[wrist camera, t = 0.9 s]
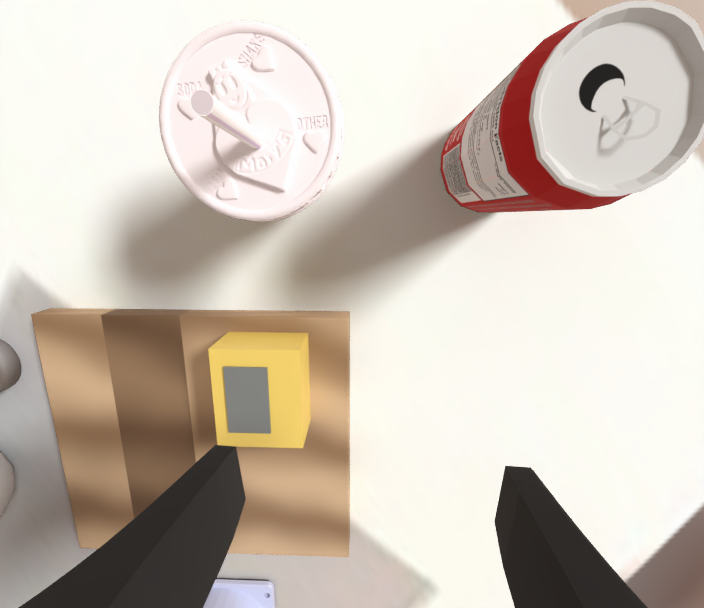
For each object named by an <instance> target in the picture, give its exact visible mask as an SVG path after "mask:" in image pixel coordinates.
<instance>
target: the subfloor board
mask: <svg viewBox="0 0 704 608" xmlns="http://www.w3.org/2000/svg"><path fill="white" fill-rule="evenodd" d="M31 316H32V321H33V325H34V330H35V335H36V340H37V345H38V349H39V354H40V359H41V364H42V368H43V373H44V378H45V383H46V387H47V392H48V397H49V402H50V407H51V411H52V416H53V421H54V426H55V430H56V435H57V440H58V445H59V449H60V454H61V459H62V464H63V468H64V473H65V478H66V483H67V488H68V492H69V497H70V502H71V507H72V511H73V516H74V521H75V526H76V530H77V535H78V540H79V545H80V548H97V549H99V548H100V547H101V546H102V545H104V544H105V543H106V542H107V541H108V540H110V539H111V538H112V537H113V536H114V535H115V534H117V533H118V532H119V531H120V530H121V529H123V528H124V527H125V526H126V525H127V524H129V523H130V522H131V521H132V520H133V519H134V518H136V517H137V516H138V515H139V514H140V513H141V512H143V511H144V510H145V509H146V508H147V507H148V506H149V505H150V504H151V503H153V502H154V501H155V500H156V499H157V498H158V497H159V496H160V495H161V494H163V493H164V492H165V491H166V490H167V489H168V488H169V487H170V486H171V485H172V484H174V483H175V482H176V481H177V480H178V479H179V478H180V477H181V476H182V475H183V474H184V473H185V472H186V471H187V470H189V469H190V468H191V467H192V466H193V465H194V464H195V463H196V462H197V461H198V460H199V459H200V458H201V457H203V456H204V455H205V454H206V453H207V452H208V451H209V450H210V449H211V448H212V447H214V446H215V445H217V435H216V425H215V414H214V404H213V393H212V383H211V372H210V362H209V351H208V349H209V348H210V347H211V346H212V345H213V344H215V343H216V342H217V341H218V340H219V339H221V338H222V337H223V336H224V335H225V334H227V333H228V332H273V333H308V344H309V380H310V416H311V420H310V424H309V428H308V431H307V435H306V439H305V443H304V446H303V448H273V447H236V449H237V454H238V460H239V465H240V470H241V476H242V481H243V487H244V492H245V497H246V500H245V503H244V507H243V510H242V513H241V516H240V520H239V523H238V526H237V529H236V532H235V535H234V538H233V540H232V543H231V545H230V548H229V550H228V552H227V553H241V554H270V555H299V556H328V557H349V541H350V312H337V311H246V310H154V309H62V308H51V309H47V310H44V311H40V312H37V313H34V314H31Z"/></svg>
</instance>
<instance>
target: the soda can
mask: <svg viewBox="0 0 704 608" xmlns="http://www.w3.org/2000/svg"><path fill="white" fill-rule="evenodd" d="M703 137H704V36H703V34H702V32H701V30H700V28H699V26H698V24H697V22H696V21H695V20H693V19H692V18H691V17H689V16H688V15H687V14H685V13H684V12H682V11H681V10H680V9H678V8H676V7H673V6H670V5H667V4H663V3H660V2H657V1H627V2H624V3H620V4H617V5H614V6H610V7H607V8H604V9H602V10H600V11H599V12H597V13H595V14H594V15H592V16H590V17H588V18H585V19H583V20H580V21H577V22H574V23H572V24H569V25H567V26H566V27H564V28H562V29H561V30H559V31H558V32H556V33H554V34H553V35H551V36H549V37H548V38H546V39H544V40H543V41H542V42H541V43H540V44H539V45H538V46H537V47H536V48H535V49H534V50H533V51H532V52H531V53H530V54H529V55H528V56H527V57H526V58H525V59H524V60H523V61H522V62H521V63H520V64H519V65H518V66H517V67H516V68H515V69H514V70H513V71H512V72H511V73H510V74H509V75H508V76H507V77H506V78H505V79H504V80H503V81H502V82H501V83H500V84H499V85H498V86H497V87H496V88H495V89H494V90H493V91H492V92H491V93H490V94H489V95H488V96H487V97H486V98H485V99H484V100H483V101H482V102H481V103H480V104H479V105H478V106H477V107H476V108H475V109H474V110H473V111H472V112H471V113H470V114H469V115H468V116H466V117H465V118H464V119H463V120H462V121H461V122H460V123H459V124H458V125H457V126H456V127H455V128H454V129H453V131H452V132H451V134H450V136H449V137H448V139H447V141H446V142H445V145H444V148H443V151H442V154H441V173H442V177H443V180H444V184H445V187H446V191H447V192H448V193H449V194H450V195H451V196H452V197H453V198H454V200H455V201H456V202H457V203H458V204H459V205H460V206H462V207H465V208H468V209H470V210H473V211H476V212H518V211H546V210H574V209H592V208H596V207H600V206H604V205H608V204H611V203H614V202H616V201H618V200H620V199H622V198H624V197H626V196H628V195H630V194H632V193H635V192H639V191H643V190H645V189H647V188H649V187H651V186H653V185H655V184H657V183H659V182H661V181H663V180H664V179H666V178H667V177H668V176H669V175H671V174H672V173H673V172H674V171H675V170H677V169H678V168H679V167H680V166H681V165H682V164H684V163H685V162H686V160H687V159H688V158H689V156H690V155H691V154H692V152H693V151H694V150H695V149H696V147H697V146H698V145H699V143H700V142H701V141H702V139H703Z"/></svg>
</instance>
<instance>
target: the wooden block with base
mask: <svg viewBox="0 0 704 608" xmlns="http://www.w3.org/2000/svg"><path fill="white" fill-rule="evenodd" d="M20 375H21V363H20V359H19V357H18V355H17V353H16V352H15V351H14V349H13V348H12V347H11V346H10V345H9V344H7V343H6V342H5V341H3V340H1V339H0V392H1V391H3V390H5V389H7V388H9V387H11V386H13V385H14V384H15V383H16V382H17V381H18V380H19V378H20Z"/></svg>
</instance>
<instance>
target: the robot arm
mask: <svg viewBox="0 0 704 608" xmlns="http://www.w3.org/2000/svg"><path fill="white" fill-rule="evenodd" d="M245 500H246V497H245V492H244V487H243V481H242V476H241V470H240V465H239V460H238V454H237V449H236V446H223V445H215V446H214V447H212V448H211V449H210V450H209V451H208V452H207V453H206V454H205V455H204V456H203V457H201V458H200V459H199V460H198V461H197V462H196V463H195V464H194V465H193V466H192V467H191V468H190V469H189V470H187V471H186V472H185V473H184V474H183V475H182V476H181V477H180V478H179V479H178V480H177V481H176V482H175V483H174V484H172V485H171V486H170V487H169V488H168V489H167V490H166V491H165V492H164V493H163V494H161V495H160V496H159V497H158V498H157V499H156V500H155V501H154V502H153V503H151V504H150V505H149V506H148V507H147V508H146V509H145V510H144V511H143V512H141V513H140V514H139V515H138V516H137V517H136V518H134V519H133V520H132V521H131V522H130V523H129V524H127V525H126V526H125V527H124V528H123V529H121V530H120V531H119V532H118V533H117V534H115V535H114V536H113V537H112V538H111V539H110V540H108V541H107V542H106V543H105V544H104V545H102V546H101V547H100V548H99V549H97V550H96V551H95V552H94V553H92V554H91V555H90V556H89V557H87V558H86V559H85V560H84V561H82V562H81V563H80V564H78V565H77V566H76V567H74V568H73V569H72V570H70V571H69V572H68V573H66V574H65V575H64V576H62V577H61V578H60V579H58V580H57V581H56V582H54V583H53V584H52V585H50V586H49V587H48V588H46V589H45V590H43V591H42V592H41V593H39V594H38V595H36V596H35V597H33V598H32V599H31V600H29V601H28V602H26V603H25V604H23V605H22V606H20V607H19V608H275V598H274V585H273V584H272V583H271V582H270V581H254V580H227V579H216V577H217V575H218V573H219V571H220V568H221V566H222V564H223V561H224V559H225V557H226V554H227V552H228V550H229V548H230V545H231V543H232V540H233V538H234V535H235V532H236V529H237V526H238V523H239V520H240V516H241V513H242V510H243V507H244V503H245ZM495 526H496V531H497V537H498V542H499V548H500V553H501V558H502V563H503V568H504V571H505V575H506V578H507V582H508V585H509V589H510V592H511V595H512V599H513V602H514V606H515V608H647V607H646V605H645V604H644V603H643V602H642V601H641V600H640V599H639V598H638V597H637V596H636V594H635V593H634V592H633V591H632V590H631V589H630V588H629V587H628V586H627V585H626V583H625V582H624V581H623V580H622V579H621V578H620V576H619V575H618V574H617V573H616V572H615V571H614V570H613V568H612V567H611V566H610V565H609V564H608V563H607V562H606V560H605V559H604V558H603V557H602V556H601V554H600V553H599V552H598V551H597V550H596V548H595V547H594V546H593V545H592V544H591V543H590V541H589V540H588V539H587V538H586V537H585V535H584V534H583V533H582V532H581V531H580V529H579V528H578V527H577V526H576V524H575V523H574V522H573V521H572V519H571V518H570V517H569V516H568V514H567V513H566V512H565V511H564V509H563V508H562V507H561V506H560V504H559V503H558V502H557V501H556V499H555V498H554V497H553V495H552V494H551V493H550V492H549V490H548V489H547V488H546V486H545V485H544V484H543V482H542V481H541V480H540V479H539V477H538V476H537V475H536V473H535V472H534V471H533V470H532V469H531V468H527V467H513V466H505V471H504V476H503V481H502V487H501V492H500V497H499V502H498V507H497V512H496V517H495Z"/></svg>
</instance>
